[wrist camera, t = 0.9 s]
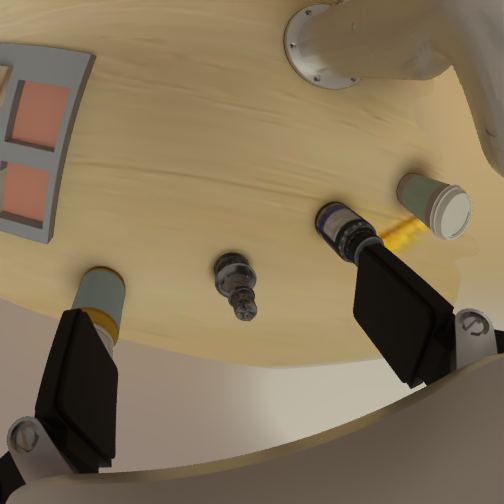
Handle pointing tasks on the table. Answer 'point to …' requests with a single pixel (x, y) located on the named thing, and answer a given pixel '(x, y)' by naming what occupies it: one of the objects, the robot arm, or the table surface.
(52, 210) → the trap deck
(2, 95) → the maple block
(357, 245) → the pill bottle
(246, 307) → the salt shaker
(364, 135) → the table surface
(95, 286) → the bottle
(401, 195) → the coffee cup
